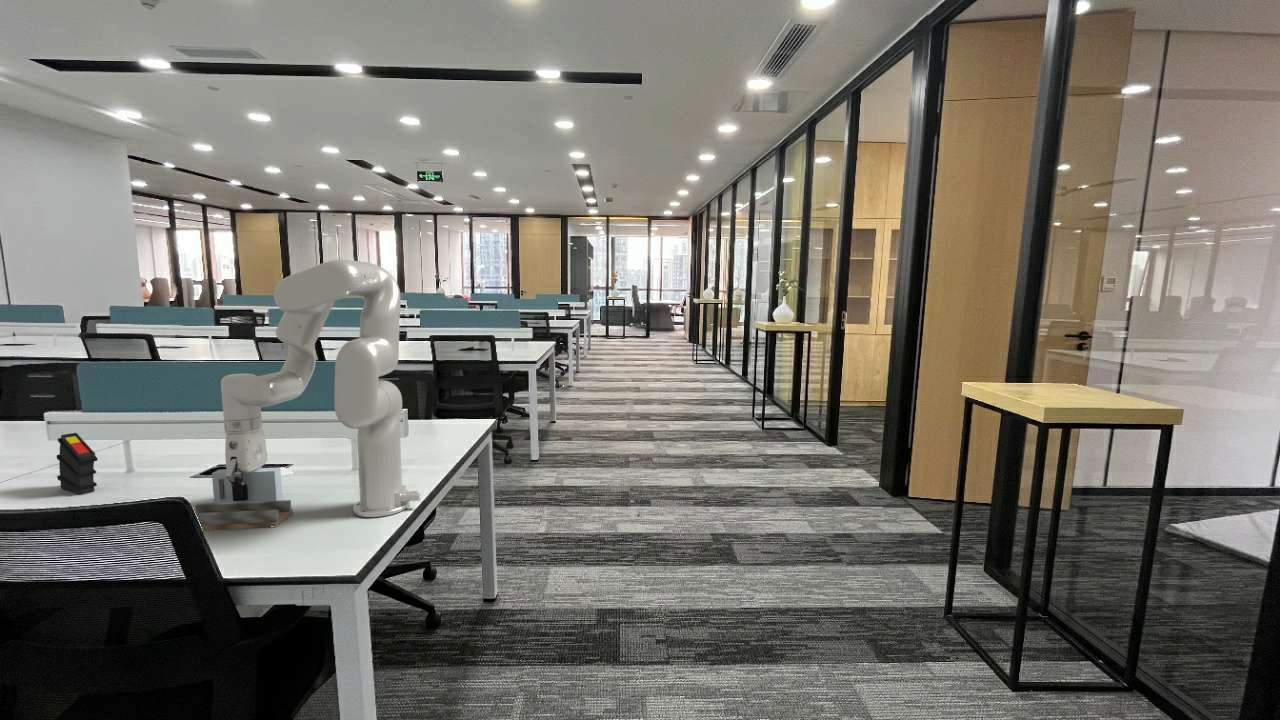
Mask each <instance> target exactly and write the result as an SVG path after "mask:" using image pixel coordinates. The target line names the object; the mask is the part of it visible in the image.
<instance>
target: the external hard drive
mask: <svg viewBox="0 0 1280 720" xmlns="http://www.w3.org/2000/svg"><path fill="white" fill-rule="evenodd" d="M279 468H280V469H281V479H283V477H284V478H288V476H289V477H292V475H293V476H294V472H293V471H291V470H290V469H288V468H286V467H284V466H281V467H279Z"/></svg>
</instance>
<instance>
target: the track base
mask: <svg viewBox="0 0 1280 720" xmlns="http://www.w3.org/2000/svg"><path fill="white" fill-rule="evenodd" d="M194 507H195V513H196V515H197V517H198V520H199V522H200V524H201V527H202V529H203V531H220V530H219V529H225V530H243V529H244V530H245V528H247V529H259V528H258V527H268V528H272V527H271V526H274V527H273V528H276V527H275V526H277V525H278V526H279V525H281V524H282V523H283V522H284V521H285V520H287V519H288V518H289V517H291V516H292V515H293V514H292V513H294V512H293V509H292V500H291V499H285V500H284V499H283V500H281V501H256V502H231V503H214V502H210V503H196V504H195V505H194ZM287 517H288V518H287ZM282 521H283V522H282ZM281 522H282V523H281ZM278 526H277V527H278ZM210 529H211V530H210Z"/></svg>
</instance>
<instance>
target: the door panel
mask: <svg viewBox="0 0 1280 720" xmlns="http://www.w3.org/2000/svg"><path fill="white" fill-rule="evenodd" d="M280 468H281V467H263V468H258V469H256V470H254V471H253V472H251V473H247V475H246V482H245V484H247V485H248V500H247V501H233V495H232V486H231V485H230V482H229V480H228V479H227V478H226V476H225V475H226V472H227V469H226V468H225V469H223V468H222V469H217V470H216V471H214V472H212V473H211V477H212V479H211V480H212V492H213V503H231V502H256V501H281V500H284V498H283V487H282V478H281V469H280ZM237 472H242V471H241V470H238V471H237ZM237 476H238V477H239V478H240V479H241V475H237Z"/></svg>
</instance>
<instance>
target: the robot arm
mask: <svg viewBox="0 0 1280 720" xmlns="http://www.w3.org/2000/svg"><path fill="white" fill-rule="evenodd" d="M273 298H274V302H275V305H276V306H277V308H278V309H279V310H280V311H282V312H283V315H282V316H281V319H280V320H279V323H278V325H277V327H276V330H275V336H276V337H277V339H278V340H279V341H280V342H282V343H284V344H286V345H287V350H288V351H287V356H286V359H285V361H284V363H283V365H282V367H281V369H280V370H279V371H277V372H271V373H267V374H262V375H256V374H254V373H234V374H233V373H232V374H228V375H225V376H223V377H222V378H221V380H220V391H221V402H222V403H221V404H222V415H223V416H222V417H223V427H224V433H225V444H224V445H225V449H224V451H225V454H224V455H225V466H226V468H225V469H227V472H226V475H225V476H226V478H227V479H228V480H229V482H230V485H231V486H232V495H233V501H247V500H248V485H247V484H245V482H246V475H247V473H251V472H253V471H254V470H256V469H258V468H264V466H265V465H266V464H267V462H268V449H267V443H266V437H265V433H264V432H265V431H264V429H263V420H262V408H268V407H271V406H275V405H278V404H280V403H281V404H282V403H284V402H288V401H292V400H294V399H296V398H299V397H300V396H301V395H302V394H303V392H304V391H305V389H306V388H307V386H308V384H309V382H310V380H311V379H312V376H313V374H314V371H315V368H316V365H317V363H316V362H317V361H316V360H317V359H316V357H317V353H316V348H315V345H316V343H317V340H318V339H319V335H320V333H322V332H321V331H322V329H323V327H324V325H325V323H326V321H327V319H328V317H329V314H330V313H331V310H332V308H333V306H334V304H335V301H338V300H342V299H357V298H359V299H362V300H364V305H363V306H362V310H361V313H360V316H359V318H360V319H359V336H358V338H355V339H352V340H349V341H348V342H346V343H345V344H344V345H342V347H341V348H340V350H339V351H338V352H337V355H336V359H335V364H334V366H335V367H334V399H333V400H334V401H333V402H334V403H333V404H334V411H335V415H336V417H337V419H338V421H339V422H340V424H342V425H343V426H345V427H346V428H349V429H353V430H357V436H356V437H357V438H356V442H357V443H356V447H357V464H358V465H357V467H358V484H359V485H358V487H359V488H358V489H359V501H357V502H356V503H355V504H354V505H353V507H352V511H353V513H354V514H355V515H356V516H358V517H363V518H380V517H386V516H390V515H395V514H398V513H400V512H403V511H404V510H406V509H407V508H408V507H409V506H410V502H420V501H421V493H420V492H419V491H418V490H411V491H409V490H408V489H407V485H403V474H402V450H401V444H402V443H401V420H402V413H403V412H402V411H403V397H402V393H401V391H400V389H399V388H398V386H396V384H394V383H392V382H391V381H389V380H383V379H381V380H380V379H379V377H383V376H385V375H389V374H390V373H392V372H393V371H394V370H396V367H398V366H397V365H398V364H399V353H400V351H399V350H400V319H401V317H400V315H401V302H402V301H401V300H402V298H401V291H400V287H399V284H398V282H397V280H396V278H395V277H394V276H393V275H392V273H390V272H389V271H388V270H386V269H384V268H383V267H382V266H380V265H378V264H375V263H372V262H367V261H361V260H350V259H349V260H348V259H333V260H328V261H325V262H323V263H320V264H317V265H315V266H312V267H309V268H306V269H303V270H301V271H298V272H295V273H293V274H290V275H288V276H286V277H284V278H283V279H281V280H280V281H279V282H278V283H277V285H276V286H275V288H274V292H273ZM238 470H241V471H242V472H237V471H238ZM237 475H241V479H240V478H239V477H238V476H237Z"/></svg>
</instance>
